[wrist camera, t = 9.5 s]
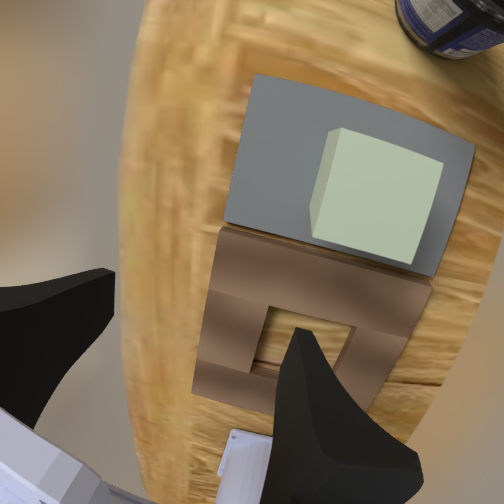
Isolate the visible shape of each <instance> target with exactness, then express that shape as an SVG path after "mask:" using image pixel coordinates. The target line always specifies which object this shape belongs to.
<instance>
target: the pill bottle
mask: <svg viewBox="0 0 504 504" xmlns="http://www.w3.org/2000/svg"><path fill="white" fill-rule="evenodd" d="M395 11H396V15H397V18H398V20H399V22H400V24H401V26H402V28H403V29H404V31H405V32H406V34H407V35H408V36H409V37H410V38H411V39H412V40H413V41H414V42H415V43H416V44H417V45H418V46H420V47H422V48H423V49H424V50H426V51H427V52H429V53H431V54H433V55H434V56H437V57H440V58H443V59H448V60H459V59H465V58H468V57H469V56H472V55H475V54H477V53H479V52H481V51H484V50H486V49H489V48H491V47H493V46H496V45H498V44H501V43H503V42H504V0H395Z"/></svg>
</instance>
